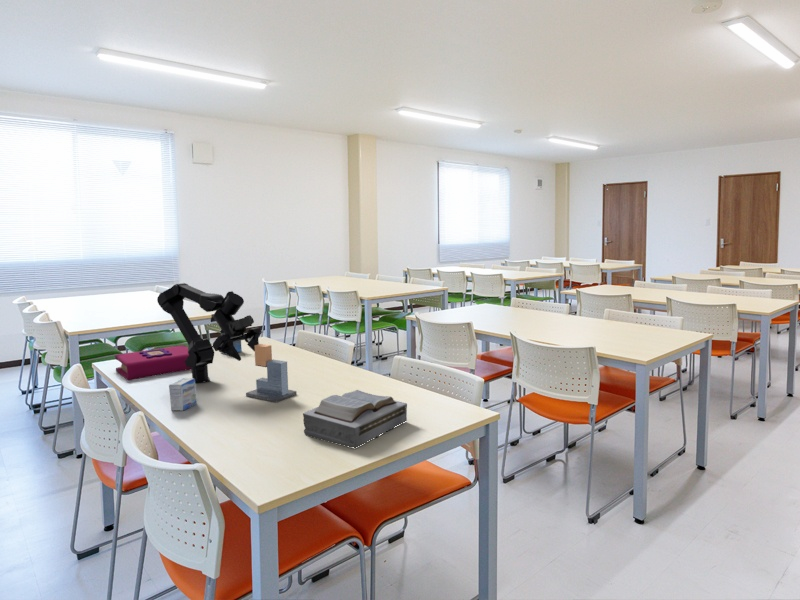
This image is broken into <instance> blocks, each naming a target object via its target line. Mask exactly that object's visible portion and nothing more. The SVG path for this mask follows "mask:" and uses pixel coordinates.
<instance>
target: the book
mask: <svg viewBox="0 0 800 600" xmlns="http://www.w3.org/2000/svg"><path fill="white" fill-rule="evenodd" d="M188 356H189V354H188V346H186V345H183V344H182V345H181V344H180V345H174V346H168V347H167V346H166V347H161V348H154V349H145V350H140V351H139V350H138V351H133V352H124V353H123V352H122V353H118V354H114V359H115V360H116V361H118V362H120V363H121V365H120V366H119V367H116V368H115V372H116V373H119V375H121V376H122V377H123V378H125V380H127V381H130V380H131V381H132V380H139V379H143V378H144V379H145V378H149V377H154V376H155V375H156V376H160V375H161V374H162V375H167V374H172V373H179V372H185V371H192V368H191V367H186V364H185V360H186V359H187V358H188Z"/></svg>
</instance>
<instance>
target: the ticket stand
mask: <svg viewBox="0 0 800 600" xmlns="http://www.w3.org/2000/svg"><path fill="white" fill-rule="evenodd" d="M266 375H267V377H260V378H258V379H257V378H256V379H255V383H256V384H255V385H256V389H253V390H250V391H248V392H245V397H249V398H253V399H257V400H262V401H267V402H271V403H279V402H281V401H284V400H286V399H289V398H291V397H294V396H296V395H297V394H298V393H297V391H296V390H293V389H289V377H288V361H287V360H286V361H284V360H279V359H273V358H272V360H269V361H267V367H266Z"/></svg>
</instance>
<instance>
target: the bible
mask: <svg viewBox="0 0 800 600" xmlns="http://www.w3.org/2000/svg"><path fill="white" fill-rule="evenodd" d="M407 411H408V403H406V402H402V401H400V400H399V401H397V400H395V399H394V398H393V397H392V396H384V395H377V394H372V393H368V392H365V391H362V390H360V389H356V390H353V391H350V392H346V393H343V394H342V395H340V394H339V395H338V394H333V395H330V396H327V397H325V398H323V399H321V400H320V403H319V405H318V406H317V407H315V408H312V409H310V410H307V411H305V412H303V413H302V415H303V426H304V430H303V433H304V435H306V436H307V435H308V436H307V437H311V438H314V437H315V438H314V439H317V438H318V440H321V439H322V441H324V440H325V442H328V441H329V442H328V443H331V442H333V443H332V444H334V443H337V444H336V445H338V444H341V445H345V446H349V447H354V448H356V447H358V446H360V445H362V444H364V443H366V442H367V441H369V440H371V439H373V438H375V439H376V437H378V436H379V435H380V434H382V433H384V434H385V433H386V431H388V432H389V430H392V428H394V427H395V426H397V425H399V424H401V423H403V422H405V421H408V419H407V418H408V417H407V416H408V415H407ZM366 444H367V443H366ZM341 445H340V446H341ZM345 446H344V447H345Z"/></svg>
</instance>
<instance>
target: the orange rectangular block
mask: <svg viewBox="0 0 800 600" xmlns="http://www.w3.org/2000/svg"><path fill="white" fill-rule="evenodd" d="M254 347H255V352H254V361H255V362H254V363H255V366H257V367H262V368H267V361H269V360H273V356H272V355H273V354H272V353H273V351H272V345H271V344H264V343H259V344H258V345H254Z"/></svg>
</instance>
